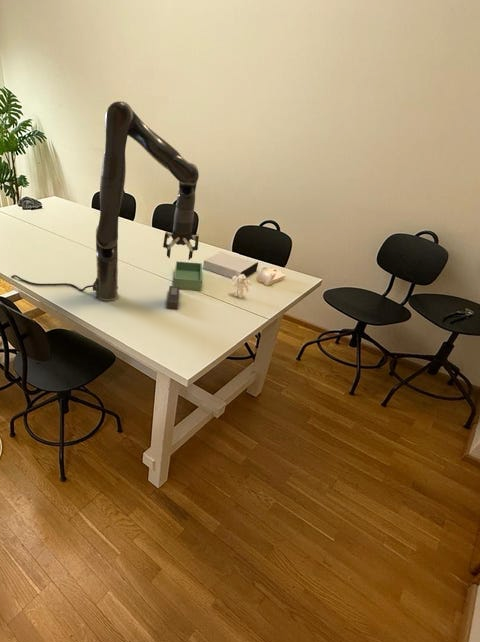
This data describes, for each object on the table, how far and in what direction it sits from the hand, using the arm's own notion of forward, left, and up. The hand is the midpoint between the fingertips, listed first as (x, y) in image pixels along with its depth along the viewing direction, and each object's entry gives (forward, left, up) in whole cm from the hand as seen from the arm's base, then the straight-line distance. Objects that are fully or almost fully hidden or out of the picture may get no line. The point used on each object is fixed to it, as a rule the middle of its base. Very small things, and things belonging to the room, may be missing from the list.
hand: (179, 258), depth 155 cm
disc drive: (+27, +40, -21) cm, 53 cm away
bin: (+5, +23, -20) cm, 31 cm away
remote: (-1, 0, -20) cm, 20 cm away
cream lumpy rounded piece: (+47, +31, -21) cm, 60 cm away
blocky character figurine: (+29, +10, -21) cm, 37 cm away
